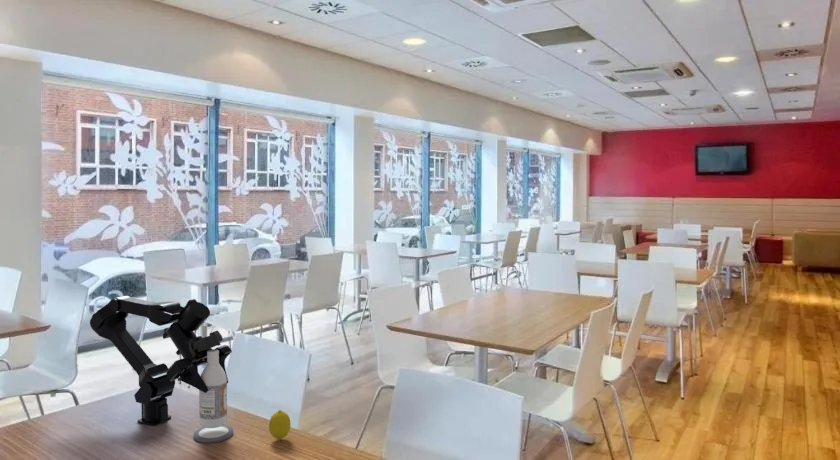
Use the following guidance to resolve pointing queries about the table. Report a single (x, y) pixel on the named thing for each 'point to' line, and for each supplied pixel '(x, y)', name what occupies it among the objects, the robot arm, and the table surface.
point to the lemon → (279, 425)
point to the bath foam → (213, 393)
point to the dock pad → (213, 434)
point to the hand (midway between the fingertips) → (217, 387)
